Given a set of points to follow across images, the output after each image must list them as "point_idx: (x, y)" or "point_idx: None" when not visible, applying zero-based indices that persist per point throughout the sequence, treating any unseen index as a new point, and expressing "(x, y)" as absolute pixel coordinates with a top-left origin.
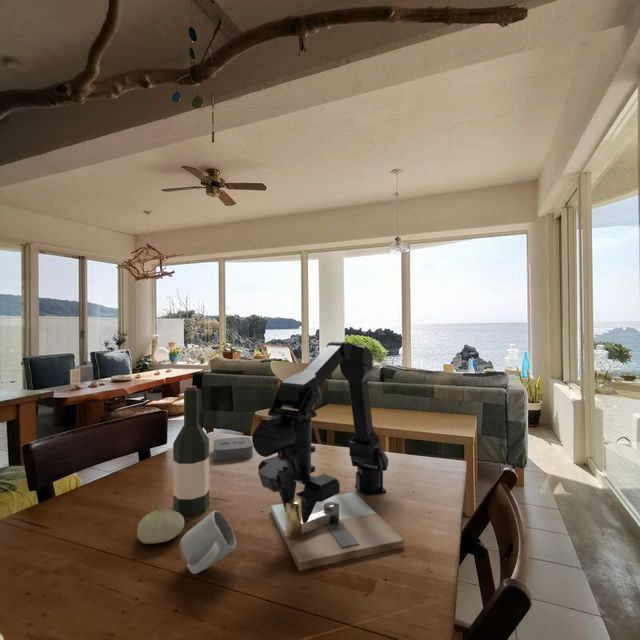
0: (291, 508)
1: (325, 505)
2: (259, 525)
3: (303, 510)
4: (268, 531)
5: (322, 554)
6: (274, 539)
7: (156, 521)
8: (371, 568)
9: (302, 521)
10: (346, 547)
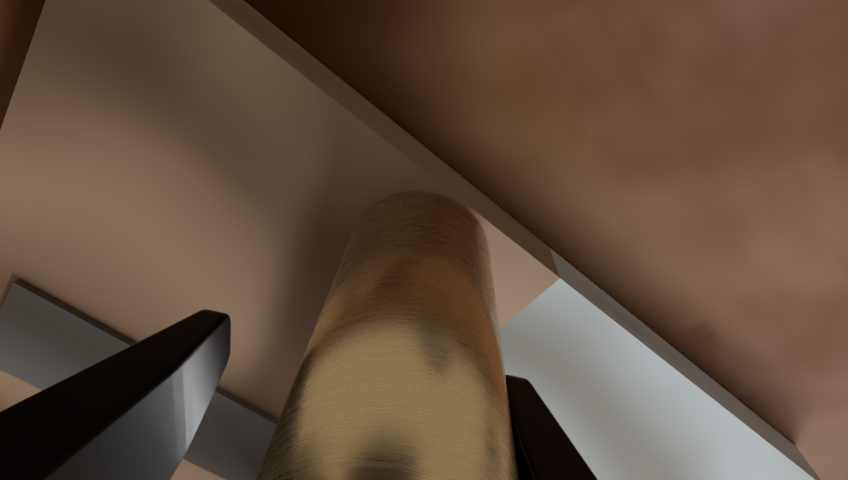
0: (332, 426)
1: None
2: (818, 293)
3: (4, 433)
4: (704, 260)
5: (44, 139)
6: (600, 195)
7: None
8: None
9: (217, 319)
10: (8, 297)
